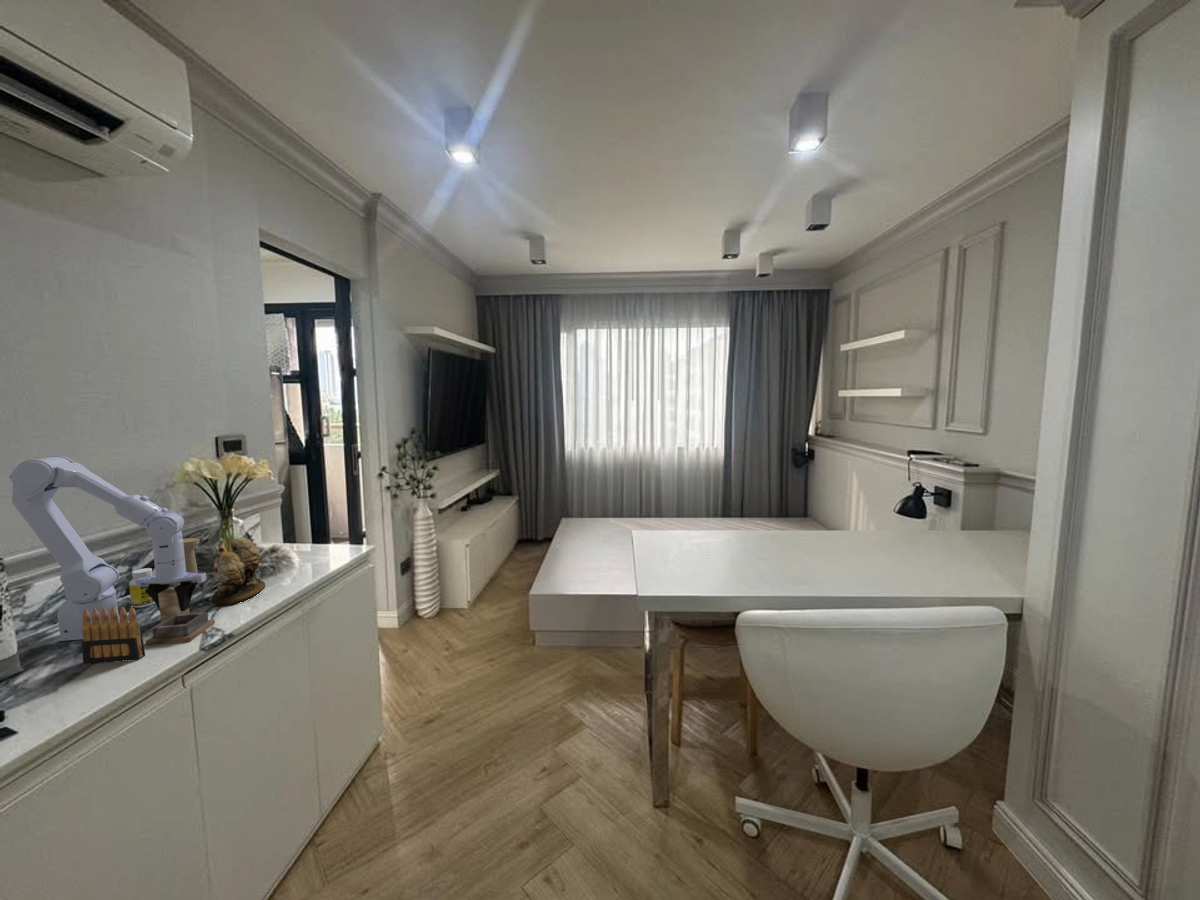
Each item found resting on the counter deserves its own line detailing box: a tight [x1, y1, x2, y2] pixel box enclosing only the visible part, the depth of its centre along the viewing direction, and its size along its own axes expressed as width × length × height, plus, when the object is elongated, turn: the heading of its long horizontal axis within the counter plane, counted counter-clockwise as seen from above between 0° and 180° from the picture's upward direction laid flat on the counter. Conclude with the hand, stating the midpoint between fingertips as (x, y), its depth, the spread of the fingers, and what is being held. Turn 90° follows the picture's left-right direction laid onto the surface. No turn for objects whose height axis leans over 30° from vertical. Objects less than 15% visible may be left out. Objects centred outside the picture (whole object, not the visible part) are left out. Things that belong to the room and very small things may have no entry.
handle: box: [182, 537, 200, 573], centre depth 138 cm, size 5×6×15 cm
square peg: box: [158, 586, 191, 623], centre depth 119 cm, size 4×4×8 cm
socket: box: [145, 611, 216, 646], centre depth 111 cm, size 9×9×4 cm
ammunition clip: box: [81, 605, 146, 665], centre depth 100 cm, size 11×2×12 cm, turn 98°
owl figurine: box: [210, 537, 266, 607], centre depth 134 cm, size 18×12×17 cm, turn 22°
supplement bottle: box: [128, 567, 156, 609], centre depth 128 cm, size 5×5×10 cm
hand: (175, 610), depth 119 cm, fingers closed on square peg, 4 cm apart
